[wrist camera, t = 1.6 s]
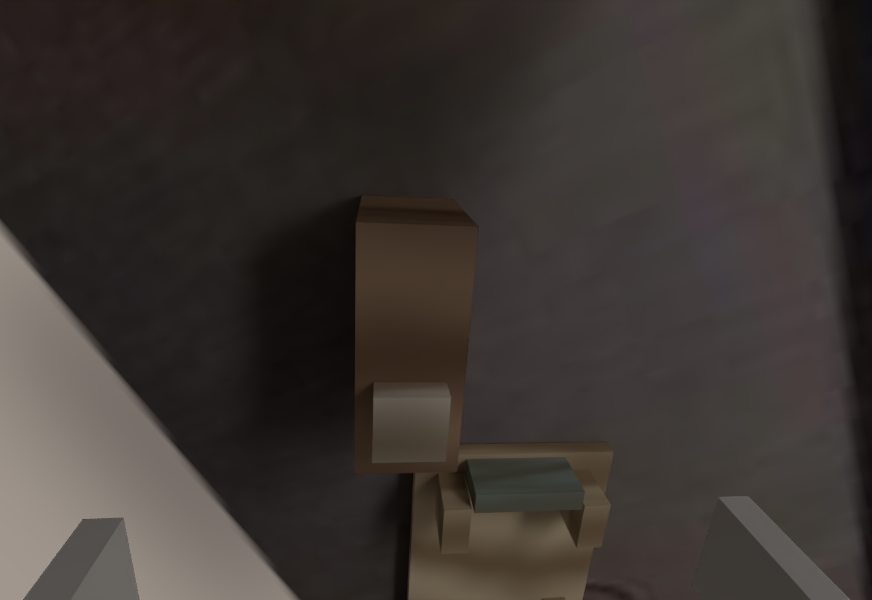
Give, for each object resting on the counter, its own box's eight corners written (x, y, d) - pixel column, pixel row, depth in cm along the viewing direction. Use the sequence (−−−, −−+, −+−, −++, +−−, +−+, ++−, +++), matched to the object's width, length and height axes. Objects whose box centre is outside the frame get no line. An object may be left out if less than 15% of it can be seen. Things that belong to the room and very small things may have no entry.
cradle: (414, 445, 29) (420, 492, 26) (606, 441, 31) (638, 486, 27) (404, 636, 35) (407, 699, 31) (568, 626, 36) (590, 684, 32)
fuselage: (361, 194, 24) (354, 228, 17) (452, 199, 25) (485, 233, 17) (359, 391, 28) (353, 493, 20) (438, 391, 29) (461, 490, 21)
